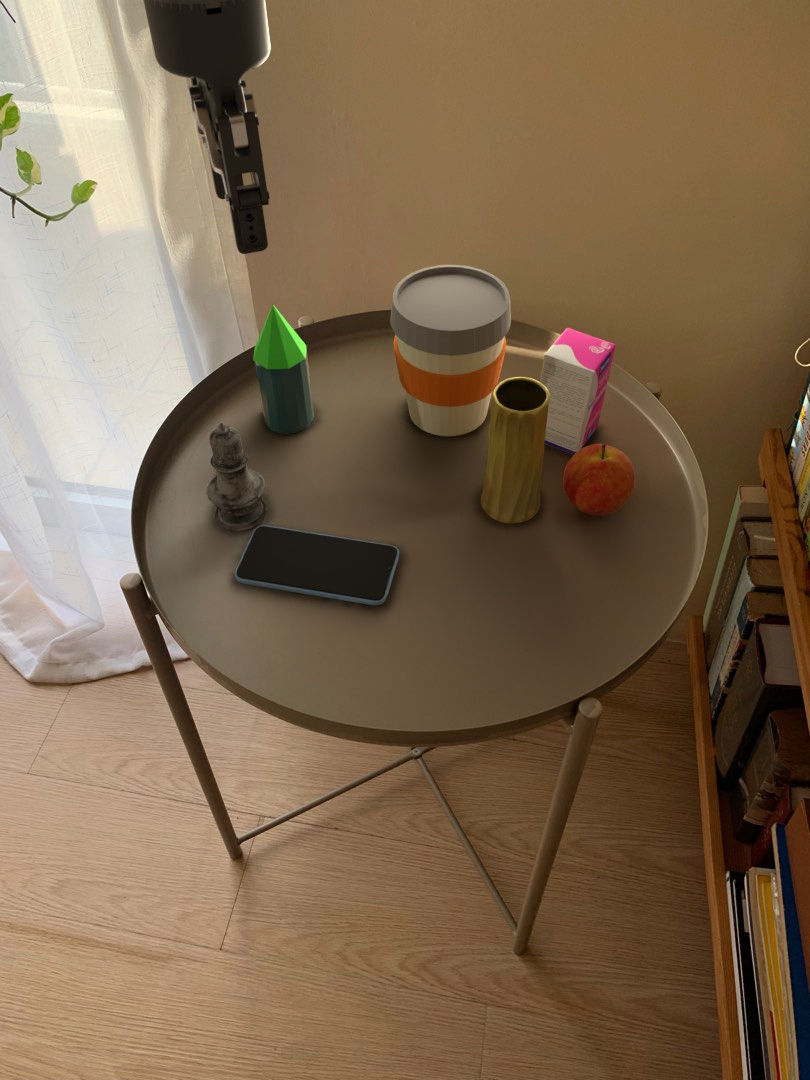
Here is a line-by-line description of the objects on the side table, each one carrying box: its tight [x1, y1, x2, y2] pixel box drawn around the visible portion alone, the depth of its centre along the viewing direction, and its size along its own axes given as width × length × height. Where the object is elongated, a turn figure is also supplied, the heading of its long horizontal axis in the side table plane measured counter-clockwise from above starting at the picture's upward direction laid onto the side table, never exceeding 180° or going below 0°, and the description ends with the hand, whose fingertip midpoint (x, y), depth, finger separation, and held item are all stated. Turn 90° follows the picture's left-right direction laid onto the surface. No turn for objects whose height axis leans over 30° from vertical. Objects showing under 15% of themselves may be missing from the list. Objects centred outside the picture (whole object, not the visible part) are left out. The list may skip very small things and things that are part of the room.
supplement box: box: [539, 327, 617, 456], centre depth 94 cm, size 6×6×12 cm
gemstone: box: [252, 304, 307, 369], centre depth 92 cm, size 6×6×6 cm
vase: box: [480, 376, 550, 525], centre depth 86 cm, size 6×6×14 cm
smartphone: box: [234, 525, 400, 606], centre depth 86 cm, size 7×1×15 cm
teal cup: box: [252, 349, 315, 435], centre depth 98 cm, size 6×6×9 cm
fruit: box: [562, 443, 635, 516], centre depth 88 cm, size 7×7×8 cm
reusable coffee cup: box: [390, 264, 512, 437], centre depth 96 cm, size 13×13×15 cm
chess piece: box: [205, 422, 268, 532], centre depth 87 cm, size 6×6×12 cm
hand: (241, 222), depth 67 cm, fingers open, 8 cm apart
